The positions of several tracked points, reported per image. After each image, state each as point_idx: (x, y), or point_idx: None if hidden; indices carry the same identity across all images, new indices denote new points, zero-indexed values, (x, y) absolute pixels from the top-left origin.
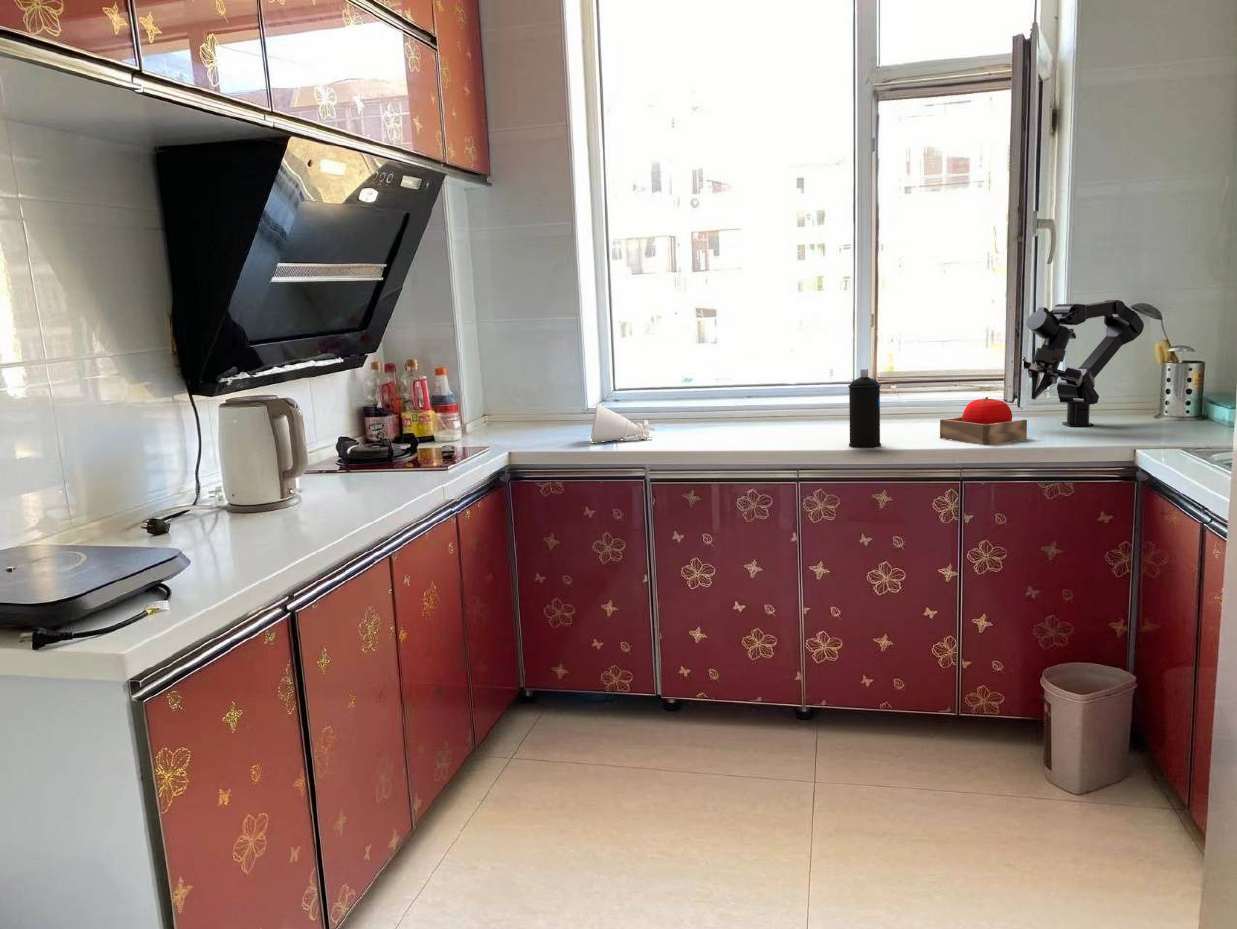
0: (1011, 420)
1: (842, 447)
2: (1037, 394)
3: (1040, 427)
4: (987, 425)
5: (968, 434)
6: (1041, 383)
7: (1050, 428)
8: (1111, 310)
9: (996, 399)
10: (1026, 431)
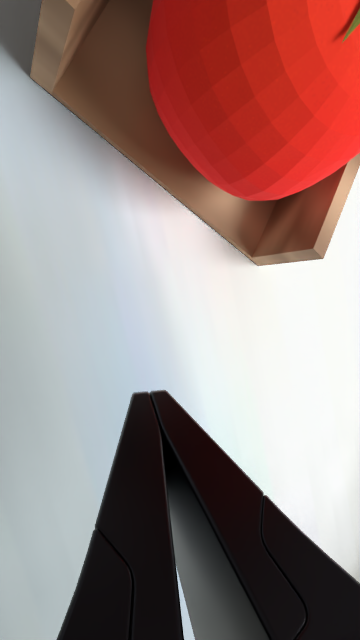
0: (152, 30)
1: None
2: (122, 430)
3: (79, 531)
4: None
5: None
6: (147, 608)
7: (17, 528)
8: None
9: (353, 30)
10: (35, 46)
